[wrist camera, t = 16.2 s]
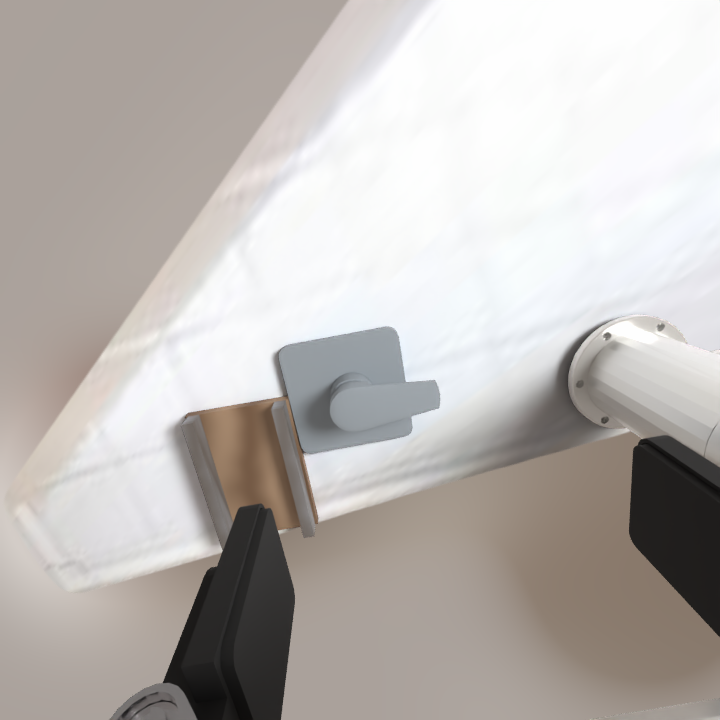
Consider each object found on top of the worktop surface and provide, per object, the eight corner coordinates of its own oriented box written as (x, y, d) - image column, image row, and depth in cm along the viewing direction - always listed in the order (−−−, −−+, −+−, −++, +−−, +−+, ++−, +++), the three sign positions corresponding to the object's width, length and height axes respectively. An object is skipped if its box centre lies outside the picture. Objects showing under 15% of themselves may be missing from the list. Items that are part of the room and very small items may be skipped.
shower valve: (447, 452, 41) (299, 479, 41) (435, 426, 46) (303, 450, 46) (432, 332, 37) (268, 363, 37) (420, 319, 42) (277, 346, 42)
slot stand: (289, 395, 44) (285, 407, 41) (318, 517, 49) (316, 535, 46) (188, 412, 44) (177, 425, 41) (227, 533, 49) (220, 552, 46)
